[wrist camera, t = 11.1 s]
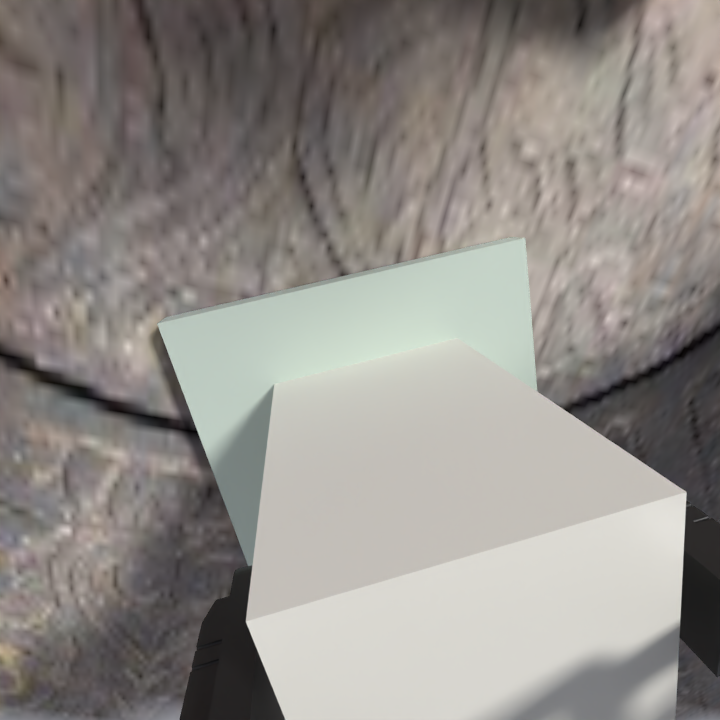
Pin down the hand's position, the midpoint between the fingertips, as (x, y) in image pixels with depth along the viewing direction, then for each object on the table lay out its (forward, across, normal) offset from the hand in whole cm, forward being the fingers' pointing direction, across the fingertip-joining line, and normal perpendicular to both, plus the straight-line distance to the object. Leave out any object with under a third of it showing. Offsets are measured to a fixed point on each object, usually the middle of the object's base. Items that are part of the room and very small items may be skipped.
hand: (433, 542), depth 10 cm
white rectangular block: (+5, 0, 0) cm, 5 cm away
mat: (+6, 0, 0) cm, 6 cm away
